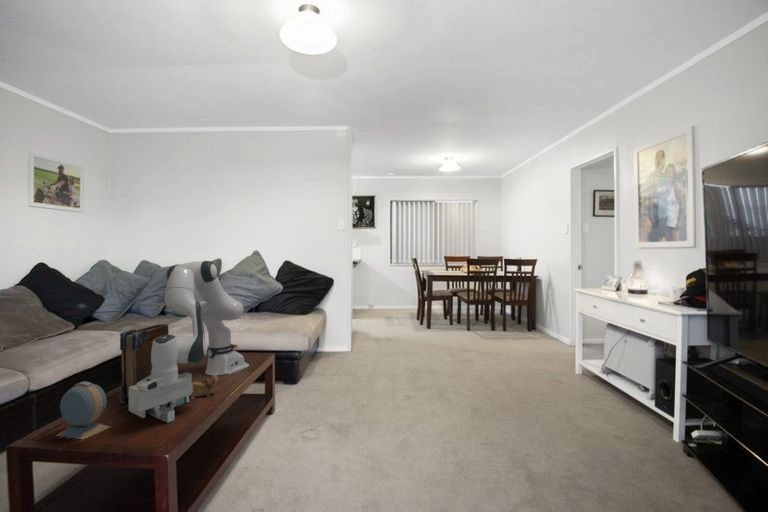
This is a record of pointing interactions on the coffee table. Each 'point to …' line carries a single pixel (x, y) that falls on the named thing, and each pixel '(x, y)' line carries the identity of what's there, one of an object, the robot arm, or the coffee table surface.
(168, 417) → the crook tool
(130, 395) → the block
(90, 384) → the alarm clock
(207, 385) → the lion figurine
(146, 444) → the coffee table surface
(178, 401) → the cube
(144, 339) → the decorative book
